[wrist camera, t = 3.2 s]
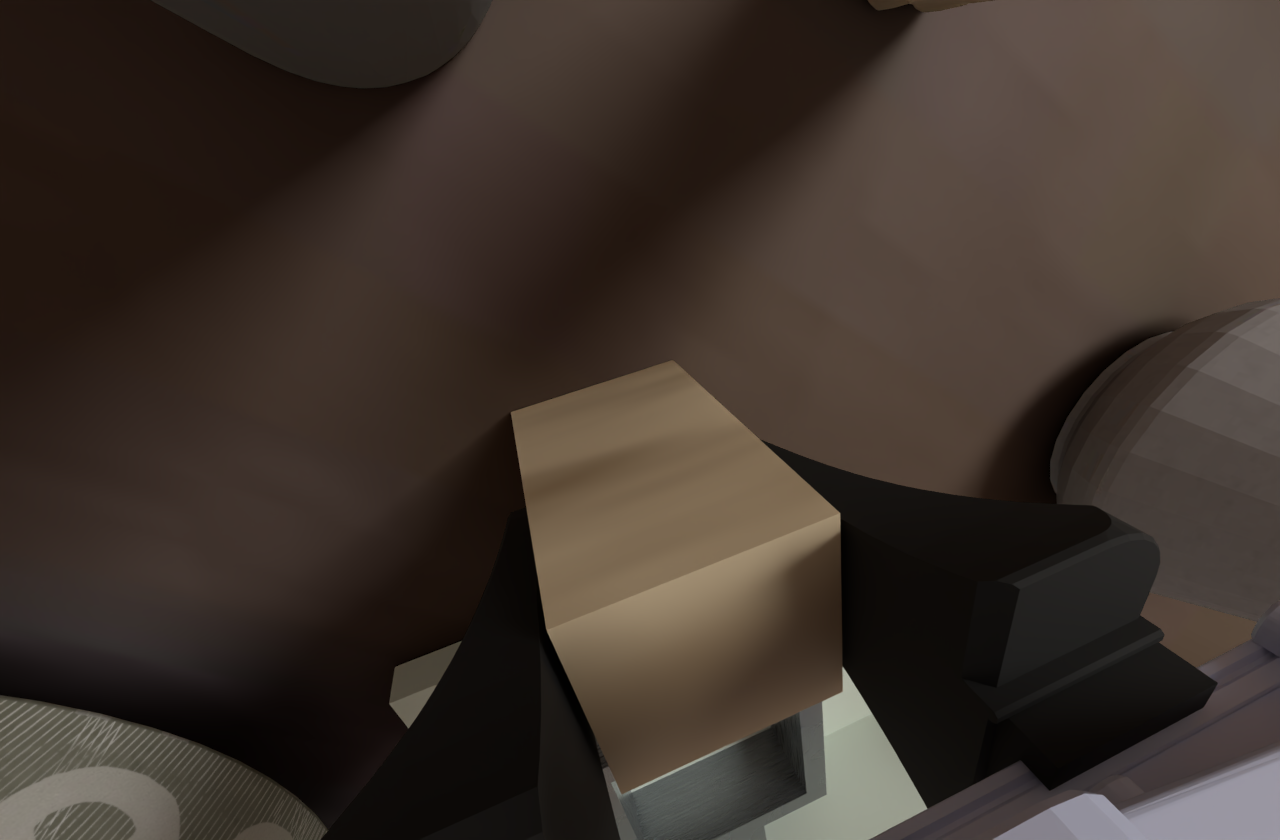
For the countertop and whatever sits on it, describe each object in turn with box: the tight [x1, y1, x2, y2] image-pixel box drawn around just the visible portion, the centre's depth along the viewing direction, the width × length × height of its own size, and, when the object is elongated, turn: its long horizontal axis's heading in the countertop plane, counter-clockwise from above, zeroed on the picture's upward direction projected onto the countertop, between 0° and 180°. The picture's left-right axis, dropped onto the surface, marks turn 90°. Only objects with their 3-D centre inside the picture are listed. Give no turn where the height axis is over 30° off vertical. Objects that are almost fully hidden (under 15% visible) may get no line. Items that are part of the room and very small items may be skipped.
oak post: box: [511, 360, 843, 794], centre depth 11 cm, size 4×4×7 cm
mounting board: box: [389, 641, 927, 840], centre depth 16 cm, size 13×16×7 cm
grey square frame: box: [594, 702, 827, 840], centre depth 18 cm, size 9×8×2 cm
